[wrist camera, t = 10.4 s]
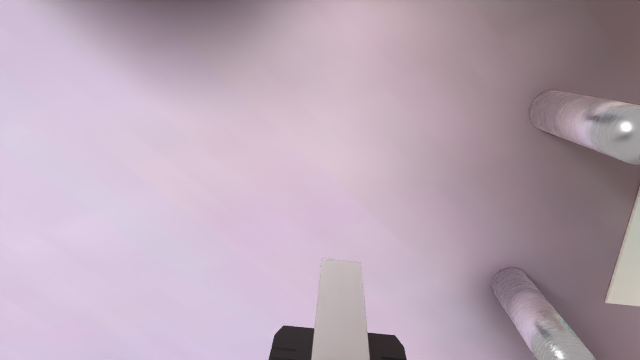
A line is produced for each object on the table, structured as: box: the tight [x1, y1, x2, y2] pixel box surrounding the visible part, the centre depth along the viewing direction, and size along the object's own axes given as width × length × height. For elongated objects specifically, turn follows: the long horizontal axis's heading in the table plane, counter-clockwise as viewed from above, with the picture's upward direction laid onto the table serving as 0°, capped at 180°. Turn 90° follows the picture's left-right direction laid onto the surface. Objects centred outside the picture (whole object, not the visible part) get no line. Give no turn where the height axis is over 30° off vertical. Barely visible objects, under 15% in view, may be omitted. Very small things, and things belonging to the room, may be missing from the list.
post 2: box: [492, 268, 597, 360], centre depth 27 cm, size 3×3×9 cm
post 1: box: [529, 90, 640, 165], centre depth 23 cm, size 3×3×9 cm
